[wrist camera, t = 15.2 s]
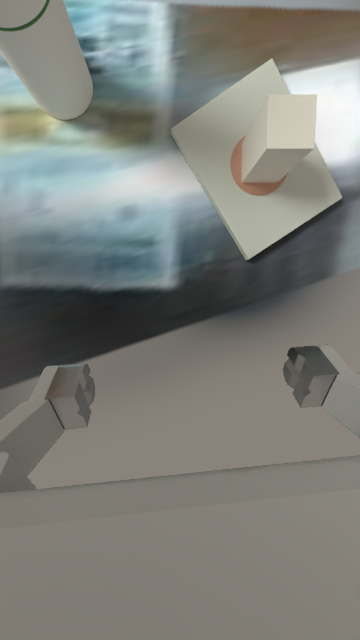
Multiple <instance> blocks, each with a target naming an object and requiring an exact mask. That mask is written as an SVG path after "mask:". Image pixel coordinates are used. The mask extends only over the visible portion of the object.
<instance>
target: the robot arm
mask: <svg viewBox="0 0 360 640" xmlns="http://www.w3.org/2000/svg"><path fill="white" fill-rule="evenodd" d="M287 355H288V357H289V359H288V360H287V361H286V362H285V364H284V368H283V371H284V377H285V380H286V382H287V384H288V385H289V386H290V387H292V388H293V389H294V392H293V395H294V396H295V398H296V400H297V402H298V404H299V406H300V407H301V408H302V407H318V406H322V408H323V409H324V410H325V411H327V412H328V413H329V414H330V415H332V416H333V417H334V418H335V419H337V420H338V421H339V422H340V423H342V424H343V425H344V426H345V427H347V428H348V429H349V430H350V431H352V432H353V433H354V434H355V435H357V436H358V437H359V438H360V374H359V373H354V372H353V371H352V370H351V369H350V368H349V367H348V365H347V364H346V363H345V362H344V361H343V360H342V359H341V357H340V356H339V355H338V354H337V353H336V352H335V350H334V349H333V348H332V347H331V346H329V345H328V344H327V345H315V346H304V347H293V348H290V349H289V351H288V354H287ZM89 373H90V369H89V367H88V364H72V365H60V366H47V367H46V368H44V370H43V372H42V374H41V376H40V378H39V380H38V382H37V384H36V387H35V389H34V390H33V392H32V395H31V397H30V399H29V401H24V402H23V403H22V404H21V405H19V406H18V407H17V408H15V409H14V410H13V411H12V412H11V413H9V414H8V415H7V416H5V417H4V418H3V419H2V420H1V421H0V640H360V456H350V457H341V458H332V459H322V460H312V461H303V462H294V463H283V464H273V465H264V466H254V467H245V468H235V469H225V470H215V471H206V472H196V473H187V474H178V475H168V476H159V477H149V478H139V479H130V480H120V481H110V482H102V483H91V484H82V485H72V486H62V487H53V488H43V489H36V487H35V485H34V484H33V483H32V482H31V481H30V479H29V478H28V477H27V476H28V475H29V474H30V473H31V471H32V470H33V469H34V468H35V466H36V465H37V464H38V463H39V462H40V460H41V459H42V458H43V457H44V455H45V454H46V453H47V452H48V451H49V449H50V448H51V447H52V446H53V444H54V443H55V442H56V441H57V439H59V437H60V436H61V435H62V434H63V432H64V430H68V429H75V428H85V427H88V421H89V418H90V414H91V411H90V408H89V406H90V405H91V404H92V402H93V400H94V396H95V385H94V381H93V378H91V377H90V376H89Z"/></svg>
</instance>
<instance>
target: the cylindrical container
mask: <svg viewBox="0 0 360 640" xmlns="http://www.w3.org/2000/svg"><path fill="white" fill-rule="evenodd" d="M0 53H1V54H2V56H3V57H4V58H5V60H6V61H7V63H8V64H9V65H10V67H11V68H12V69H13V71H14V72H15V74H16V75H17V76H18V78H19V79H20V80H21V82H22V83H23V85H24V86H25V87H26V89H27V90H28V92H29V93H30V94H31V96H32V97H33V98H34V100H35V101H36V103H37V104H38V105H39V106H40V108H41V109H42V110H43V111H44V112H45V113H47V114H48V115H50V116H52V117H54V118H57V119H61V120H69V119H73V118H76V117H78V116H80V115H81V114H83V113H84V112H85V111H86V109H87V108H88V107H89V105H90V102H91V100H92V96H93V82H92V78H91V75H90V72H89V70H88V67H87V64H86V62H85V59H84V56H83V53H82V51H81V48H80V45H79V43H78V40H77V37H76V35H75V32H74V29H73V26H72V24H71V21H70V18H69V16H68V13H67V10H66V8H65V5H64V2H63V0H0Z"/></svg>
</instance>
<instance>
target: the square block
mask: <svg viewBox="0 0 360 640" xmlns="http://www.w3.org/2000/svg"><path fill="white" fill-rule="evenodd" d="M316 100H317V95H288V94H268V96H267V97H266V99H265V101H264V103H263V105H262V107H261V109H260V111H259V112H258V114H257V116H256V118H255V120H254V122H253V124H252V126H251V128H250V129H249V131H248V133H247V135H246V137H245V139H244V141H243V143H242V180H241V183H277V182H278V181H279V180H281V179H282V178H283V177H284V176H285V175H286V174H287V173H288V172H289V171H290V170H291V169H292V168H294V167H295V166H296V165H297V164H298V163H299V162H300V161H301V160H302V159H303V158H304V157H305V156H307V155H308V154H309V153H310V152H311V151H312V150H313V149H314V140H315V120H316Z"/></svg>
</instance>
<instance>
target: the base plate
mask: <svg viewBox="0 0 360 640" xmlns="http://www.w3.org/2000/svg"><path fill="white" fill-rule="evenodd" d="M268 94H288V95H290V93H289V91H288V89H287V87H286V85H285V83H284V81H283V79H282V77H281V75H280V73H279V71H278V69H277V67H276V65H275V63H274V61H273V59H270V60H269V61H267V62H266V63H265V64H263V65H262V66H260V67H259V68H257V69H256V70H254V71H253V72H252V73H250V74H249V75H247V76H246V77H244V78H243V79H242V80H240V81H239V82H237V83H236V84H234V85H233V86H231V87H230V88H229V89H227V90H226V91H224V92H223V93H221V94H220V95H218V96H217V97H216V98H214V99H213V100H211V101H210V102H208V103H207V104H205V105H204V106H203V107H201V108H200V109H198V110H197V111H195V112H194V113H192V114H191V115H190V116H188V117H187V118H185V119H184V120H182V121H181V122H179V123H178V124H177V125H175V126H174V127H172V128H171V135H172V137H173V139H174V140H175V142H176V144H177V145H178V147H179V149H180V150H181V152H182V154H183V155H184V157H185V159H186V161H187V162H188V164H189V166H190V167H191V169H192V171H193V172H194V174H195V176H196V177H197V179H198V181H199V182H200V184H201V186H202V188H203V189H204V191H205V193H206V194H207V196H208V198H209V199H210V201H211V203H212V204H213V206H214V208H215V209H216V211H217V213H218V214H219V216H220V218H221V220H222V221H223V223H224V225H225V226H226V228H227V230H228V231H229V233H230V235H231V236H232V238H233V240H234V241H235V243H236V245H237V247H238V248H239V250H240V252H241V253H242V255H243V257H244V258H245V260H249V259H250V258H252V257H253V256H255V255H256V254H258V253H259V252H261V251H262V250H264V249H265V248H267V247H268V246H270V245H271V244H273V243H274V242H276V241H277V240H279V239H281V238H282V237H284V236H285V235H287V234H288V233H290V232H291V231H293V230H294V229H296V228H297V227H299V226H300V225H302V224H303V223H305V222H306V221H308V220H309V219H311V218H312V217H314V216H315V215H317V214H318V213H320V212H322V211H323V210H325V209H326V208H328V207H329V206H331V205H332V204H334V203H335V202H337V201H338V200H340V199H341V198H343V197H342V195H341V193H340V192H339V190H338V188H337V186H336V184H335V182H334V180H333V178H332V176H331V174H330V172H329V170H328V168H327V166H326V164H325V162H324V160H323V158H322V156H321V154H320V152H319V150H318V148H317V146H316V144H315V142H314V149H313V150H312V151H311V152H310V153H309V154H308V155H307V156H305V157H304V158H303V159H302V160H301V161H300V162H299V163H298V164H297V165H296V166H295V167H294V168H292V169H291V170H290V171H289V172H288V173H287V174H286V175H285V176H284V177H283V178H282V179H281V180H279V181H278V182H277V183H241V180H242V143H243V141H244V139H245V137H246V135H247V133H248V131H249V129H250V128H251V126H252V124H253V122H254V120H255V118H256V116H257V114H258V112H259V111H260V109H261V107H262V105H263V103H264V101H265V99H266V97H267V96H268Z"/></svg>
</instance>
